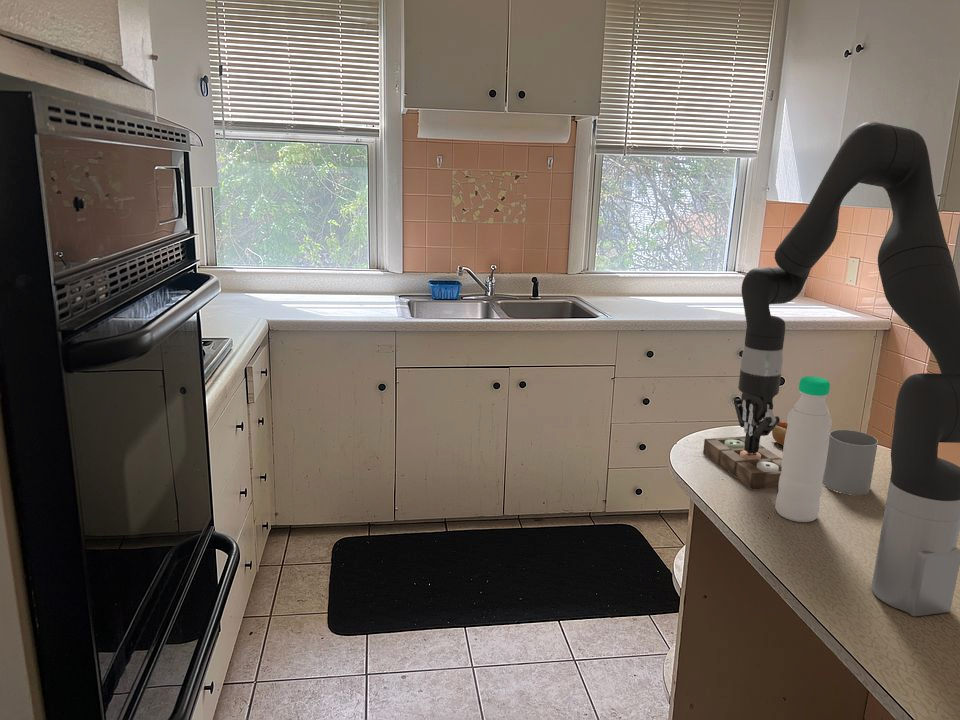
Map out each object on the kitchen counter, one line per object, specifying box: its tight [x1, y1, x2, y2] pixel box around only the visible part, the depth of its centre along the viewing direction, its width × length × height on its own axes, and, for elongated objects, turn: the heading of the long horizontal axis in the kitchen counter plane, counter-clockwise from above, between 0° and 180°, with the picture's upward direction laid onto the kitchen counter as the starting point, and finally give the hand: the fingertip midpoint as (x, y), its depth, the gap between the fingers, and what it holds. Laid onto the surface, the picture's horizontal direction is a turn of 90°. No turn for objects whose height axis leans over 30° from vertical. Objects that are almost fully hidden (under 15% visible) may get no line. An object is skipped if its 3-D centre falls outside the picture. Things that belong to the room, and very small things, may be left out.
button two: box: [724, 439, 745, 449], centre depth 156 cm, size 4×4×3 cm
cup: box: [822, 429, 879, 496], centre depth 142 cm, size 8×8×10 cm
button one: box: [757, 462, 779, 472], centre depth 145 cm, size 4×4×3 cm
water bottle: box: [774, 375, 833, 523], centre depth 128 cm, size 7×7×25 cm
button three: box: [740, 450, 761, 460], centre depth 151 cm, size 4×4×3 cm
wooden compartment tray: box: [703, 435, 782, 491], centre depth 151 cm, size 19×10×3 cm, turn 12°
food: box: [771, 421, 788, 447], centre depth 160 cm, size 14×6×5 cm, turn 23°
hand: (750, 451), depth 150 cm, fingers closed
